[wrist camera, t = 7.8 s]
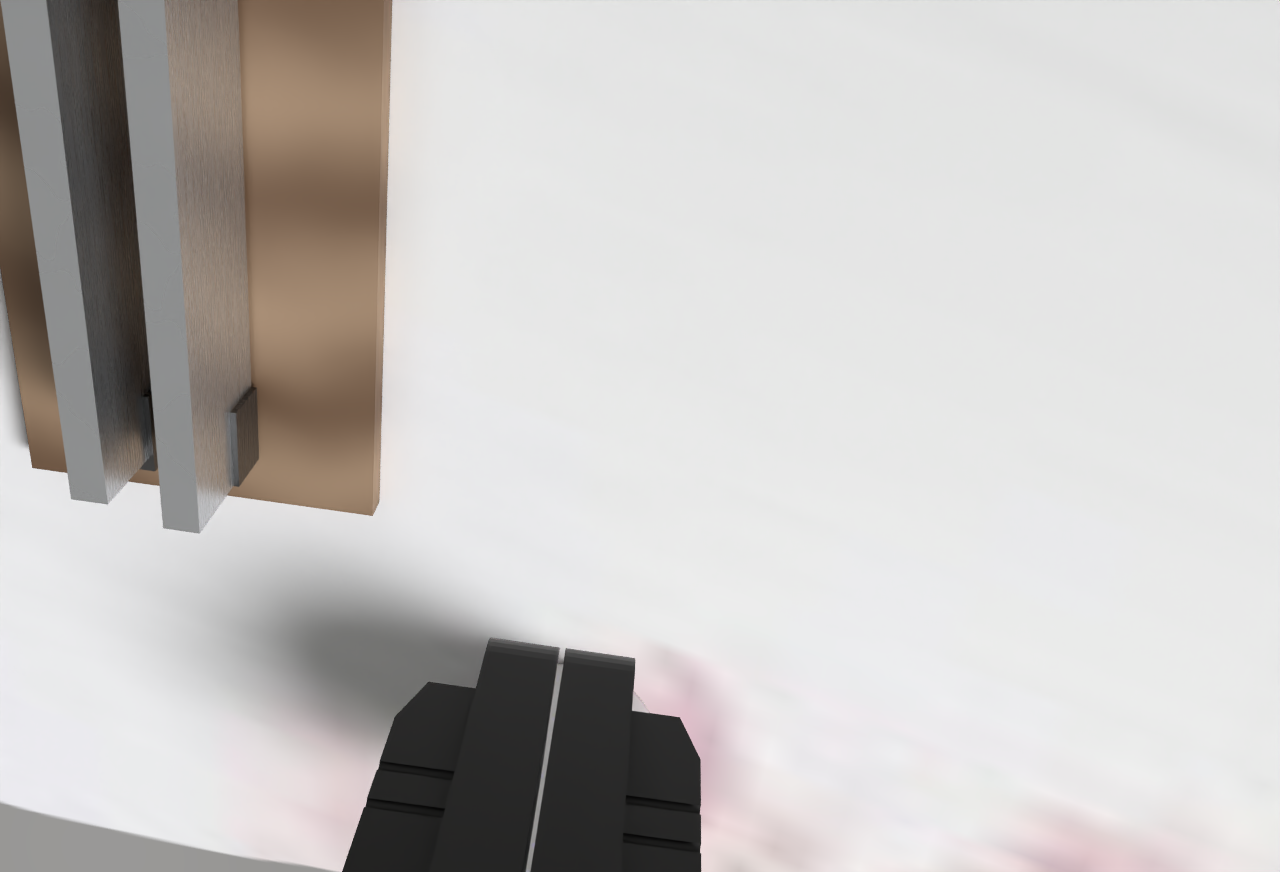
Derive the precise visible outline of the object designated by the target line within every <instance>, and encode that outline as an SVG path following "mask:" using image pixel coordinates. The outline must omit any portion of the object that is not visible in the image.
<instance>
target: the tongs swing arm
mask: <svg viewBox="0 0 1280 872" xmlns="http://www.w3.org/2000/svg"><path fill="white" fill-rule="evenodd" d="M118 9H119V21H120V32H121V44H122V55H123V67H124V78H125V90H126V102H127V113H128V125H129V136H130V148H131V159H132V171H133V183H134V194H135V206H136V217H137V229H138V241H139V252H140V264H141V275H142V287H143V298H144V310H145V322H146V333H147V345H148V356H149V368H150V379H151V391H152V403H153V414H154V426H155V437H156V449H157V460H158V472H159V484H160V495H161V507H162V518H163V528H165V529H172V530H179V531H186V532H193V533H200V532H201V531H202V529H203V528H204V527H205V525H206V524H207V523H208V521H209V520H210V518H211V517H212V516H213V514H214V513H215V511H216V510H217V509H218V507H219V506H220V504H221V503H222V502H223V500H224V499H225V497H226V496H227V495H228V493H229V492H230V490H231V489H232V488H233V486H237V487H240V485H241V484H242V482H243V481H244V479H245V478H246V477H247V475H248V474H249V472H250V471H251V470H252V468H253V467H254V465H255V464H256V463H257V461H258V460H259V438H258V407H257V388H256V387H251V364H250V335H249V306H248V278H247V249H246V221H245V192H244V164H243V135H242V107H241V78H240V49H239V21H238V0H118Z"/></svg>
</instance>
